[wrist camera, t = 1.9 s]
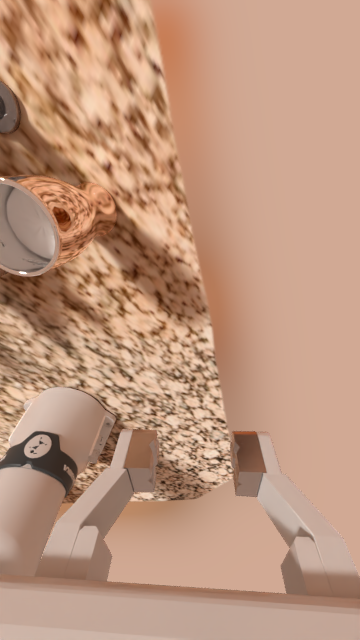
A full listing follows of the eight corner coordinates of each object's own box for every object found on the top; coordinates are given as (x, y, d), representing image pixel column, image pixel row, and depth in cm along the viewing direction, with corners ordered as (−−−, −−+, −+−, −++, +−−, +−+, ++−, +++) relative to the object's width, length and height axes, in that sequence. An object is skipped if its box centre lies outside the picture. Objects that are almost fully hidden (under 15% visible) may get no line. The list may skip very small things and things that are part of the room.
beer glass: (125, 237, 31) (74, 277, 18) (74, 240, 31) (-11, 281, 18) (114, 175, 27) (40, 168, 14) (57, 180, 28) (-64, 177, 15)
